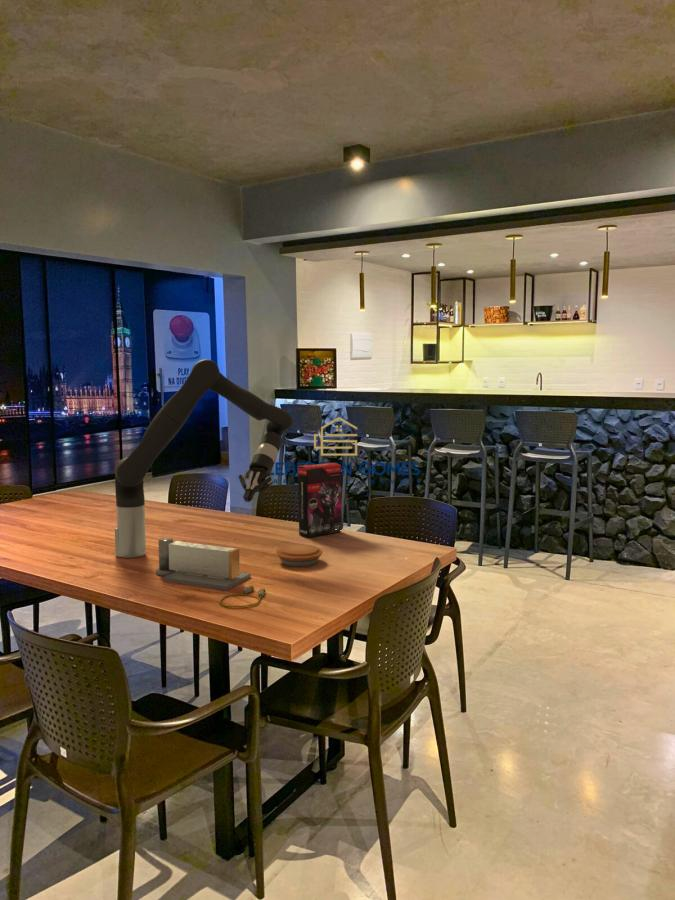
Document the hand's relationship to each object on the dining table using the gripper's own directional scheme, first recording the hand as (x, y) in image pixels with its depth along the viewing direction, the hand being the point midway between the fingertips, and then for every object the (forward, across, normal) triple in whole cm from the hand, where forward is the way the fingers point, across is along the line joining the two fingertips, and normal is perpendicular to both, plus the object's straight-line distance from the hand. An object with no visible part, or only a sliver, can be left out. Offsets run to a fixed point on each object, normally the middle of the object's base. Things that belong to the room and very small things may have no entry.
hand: (246, 500), depth 225 cm
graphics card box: (-17, +6, +47) cm, 50 cm away
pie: (+10, +16, +19) cm, 27 cm away
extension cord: (+39, +19, -9) cm, 44 cm away
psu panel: (+30, -5, -1) cm, 30 cm away
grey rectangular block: (+29, -5, -2) cm, 30 cm away
